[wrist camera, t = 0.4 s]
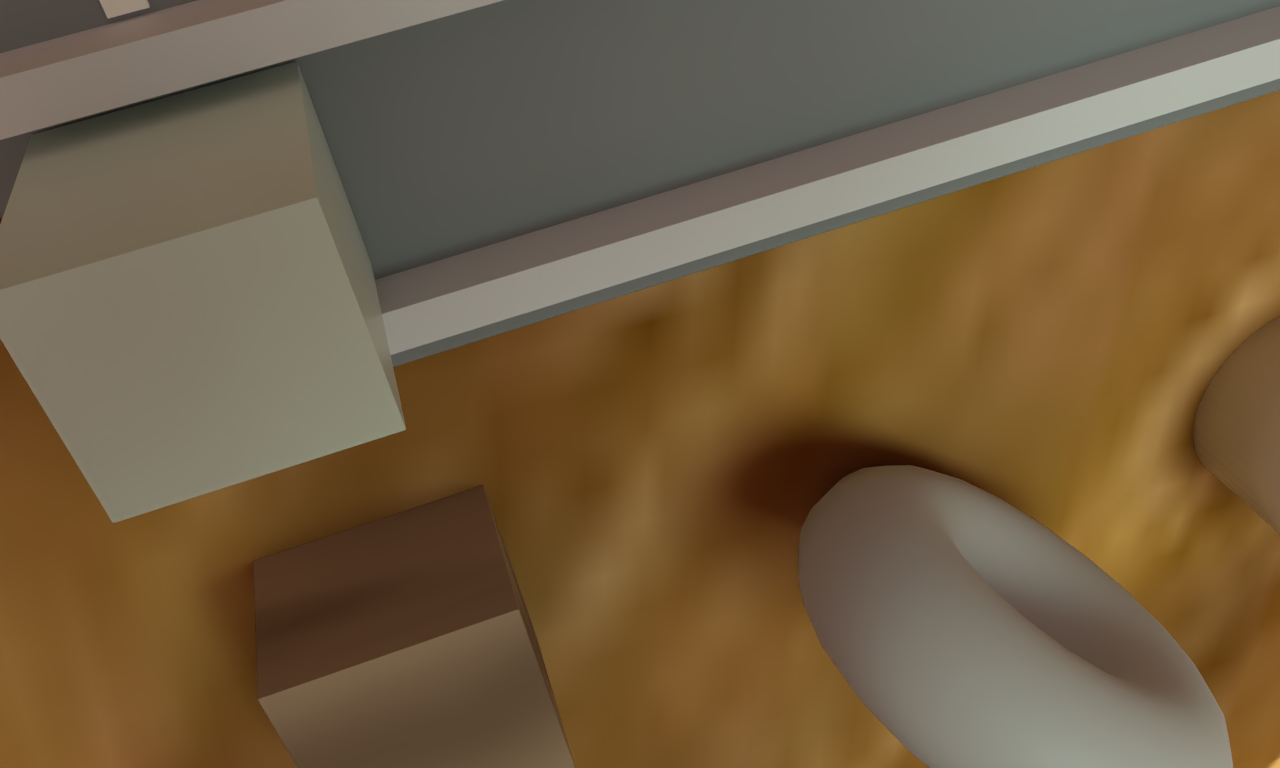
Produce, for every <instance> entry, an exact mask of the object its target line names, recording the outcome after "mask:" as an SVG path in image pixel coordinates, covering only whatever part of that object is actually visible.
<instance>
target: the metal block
mask: <svg viewBox="0 0 1280 768" xmlns="http://www.w3.org/2000/svg"><path fill="white" fill-rule="evenodd" d="M253 566H254V598H255V630H256V662H257V694H258V701H259V703H260V704H261V706H262V708H263V709H264V711H265V713H266V714H267V716H268V718H269V720H270V721H271V723H272V725H273V726H274V728H275V730H276V731H277V733H278V735H279V737H280V738H281V740H282V742H283V743H284V745H285V747H286V748H287V750H288V752H289V754H290V755H291V757H292V759H293V760H294V762H295V764H296V765H297V767H298V768H574V767H575V766H574V762H573V759H572V755H571V752H570V749H569V745H568V742H567V739H566V735H565V732H564V728H563V725H562V722H561V718H560V715H559V711H558V708H557V705H556V701H555V698H554V695H553V691H552V688H551V684H550V681H549V678H548V674H547V671H546V667H545V664H544V661H543V657H542V654H541V651H540V647H539V644H538V640H537V637H536V635H535V632H534V629H533V626H532V623H531V620H530V617H529V615H528V612H527V609H526V606H525V603H524V600H523V598H522V595H521V592H520V589H519V586H518V583H517V580H516V578H515V575H514V572H513V569H512V566H511V563H510V561H509V558H508V555H507V552H506V549H505V546H504V543H503V541H502V538H501V535H500V532H499V529H498V526H497V524H496V521H495V518H494V515H493V512H492V509H491V506H490V504H489V501H488V498H487V495H486V492H485V489H484V487H483V485H481V486H478V487H475V488H472V489H469V490H466V491H463V492H460V493H457V494H454V495H451V496H448V497H445V498H442V499H439V500H436V501H433V502H430V503H427V504H424V505H421V506H418V507H415V508H412V509H409V510H406V511H403V512H400V513H397V514H394V515H391V516H388V517H385V518H382V519H379V520H376V521H373V522H370V523H367V524H363V525H360V526H357V527H354V528H351V529H348V530H345V531H342V532H339V533H336V534H333V535H330V536H327V537H324V538H321V539H318V540H315V541H312V542H309V543H306V544H303V545H300V546H297V547H294V548H291V549H288V550H285V551H282V552H279V553H276V554H273V555H270V556H267V557H264V558H261V559H258V560H255V561H253Z"/></svg>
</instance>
